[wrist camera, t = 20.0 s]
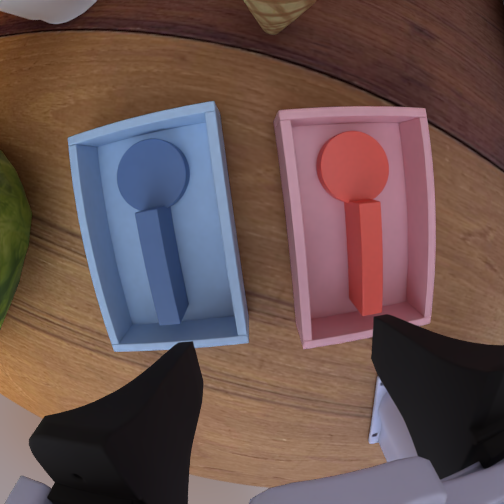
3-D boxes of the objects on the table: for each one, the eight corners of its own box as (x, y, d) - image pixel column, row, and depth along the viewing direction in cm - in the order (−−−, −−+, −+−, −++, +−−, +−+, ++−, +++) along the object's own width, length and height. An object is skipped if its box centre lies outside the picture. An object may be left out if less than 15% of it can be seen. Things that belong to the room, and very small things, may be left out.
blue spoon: (211, 302, 21) (206, 321, 18) (149, 308, 21) (136, 327, 18) (185, 133, 18) (174, 127, 16) (119, 148, 19) (99, 145, 16)
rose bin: (409, 304, 22) (430, 323, 19) (295, 324, 22) (303, 349, 19) (401, 115, 19) (425, 108, 15) (273, 120, 19) (278, 109, 15)
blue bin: (248, 318, 22) (248, 343, 19) (130, 328, 22) (114, 352, 19) (220, 112, 19) (214, 100, 15) (92, 141, 19) (67, 137, 15)
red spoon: (386, 292, 21) (404, 308, 18) (327, 302, 21) (338, 321, 18) (377, 132, 18) (397, 126, 16) (311, 135, 19) (322, 128, 16)
